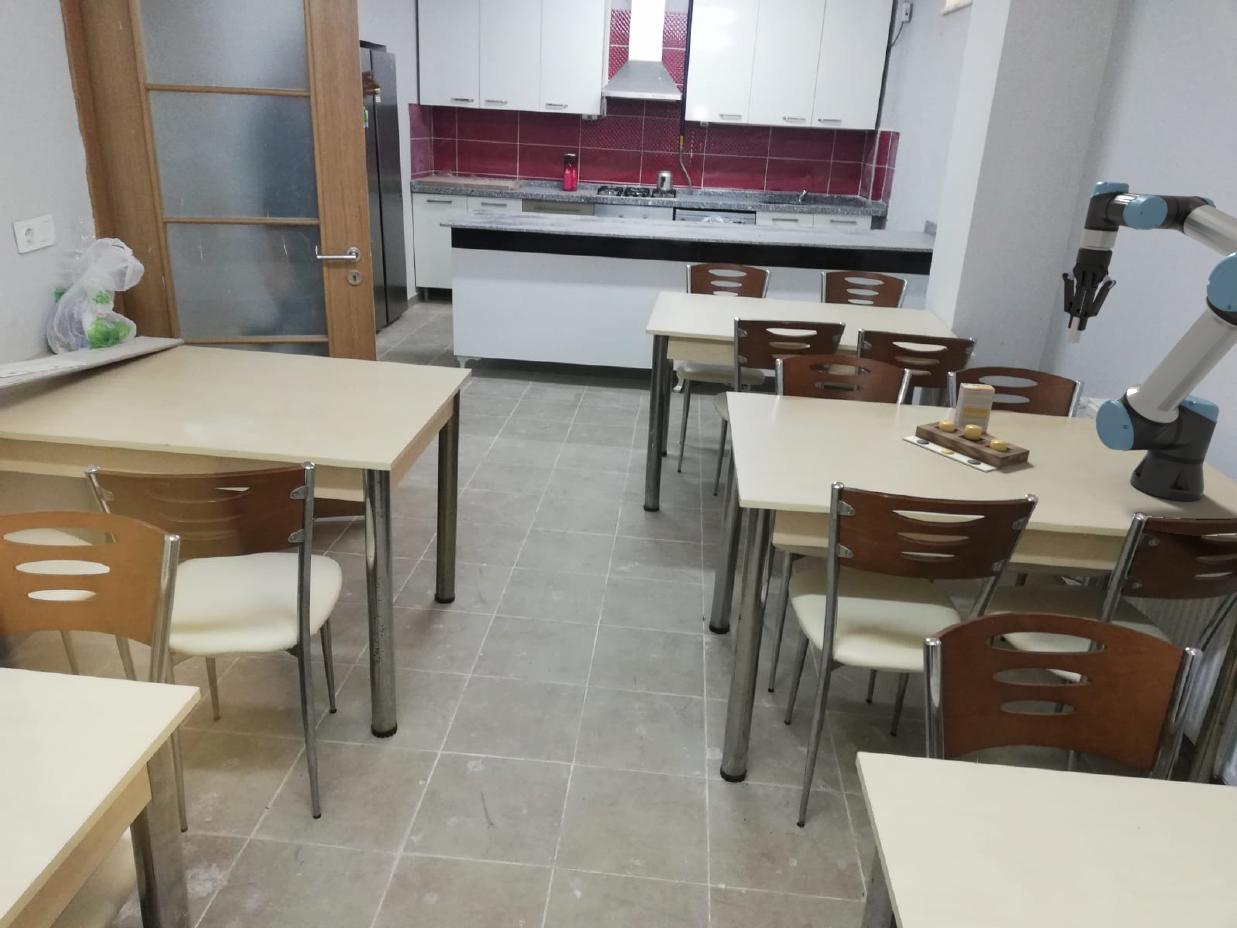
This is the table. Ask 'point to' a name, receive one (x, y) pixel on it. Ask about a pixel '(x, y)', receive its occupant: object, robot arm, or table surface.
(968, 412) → the supplement box
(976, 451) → the board
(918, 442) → the card
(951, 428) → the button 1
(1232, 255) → the robot arm
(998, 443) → the button
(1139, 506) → the table surface
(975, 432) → the button mid
